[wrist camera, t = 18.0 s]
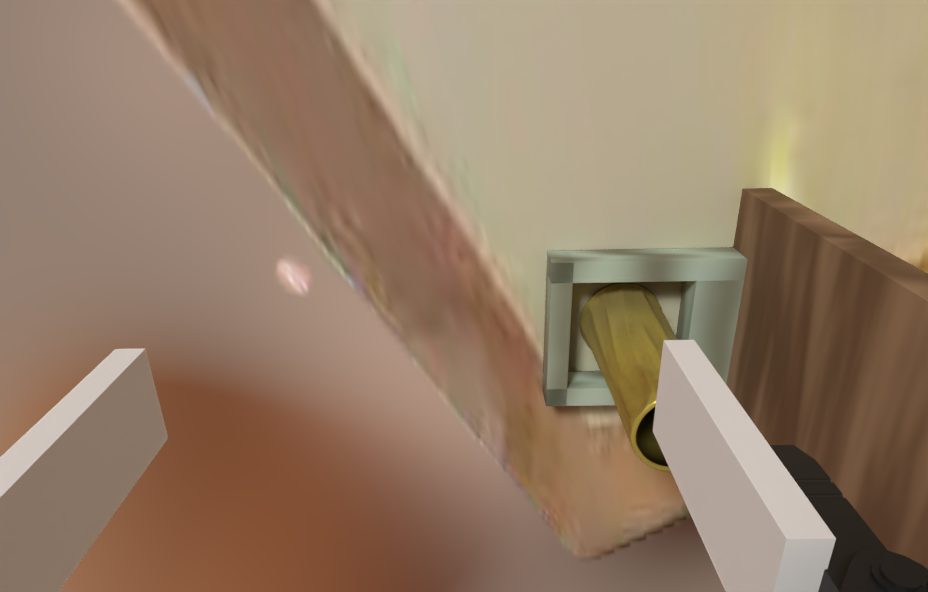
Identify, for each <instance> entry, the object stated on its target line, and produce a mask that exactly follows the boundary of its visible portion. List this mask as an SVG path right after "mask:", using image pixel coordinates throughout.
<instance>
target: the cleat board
mask: <svg viewBox="0 0 928 592" xmlns="http://www.w3.org/2000/svg"><path fill="white" fill-rule="evenodd" d="M666 281H683V288H682V295H681V303H680V311H679V318H678V326H677V334H676V338H677V339H678V340H695V342H696V343H697V345H698V346H699V347H700V349H701V350H702V352H703V353H704V354H705V356H706V357H707V359H708V360H709V361H710V363H711V364H712V366H713V367H714V368H715V370H716V371H717V373H718V374H719V375H720V377H721V378H722V380H723V381H724V382H725V384H726V385H727V387H728V388H729V389H730V391H731V392H732V394H733V395H734V396H735V398H736V399H737V401H738V402H739V403H740V405H741V406H742V408H743V409H744V410H745V412H746V413H747V415H748V416H749V417H750V419H751V420H752V422H753V423H754V424H755V426H756V427H757V429H758V430H759V431H760V433H761V434H762V436H763V437H764V438H765V440H766V441H767V443H768V444H769V445H795V446H796V447H798V448H799V449H800V450H802V451H803V452H805V453H806V454H808V455H809V456H810V457H812V458H813V459H815V460H816V461H817V462H818V463H819V465H820V466H821V467H822V468H823V470H824V471H825V472H826V473H827V475H828V476H829V477H830V479H831V482H834V484H835V485H836V486H837V487H838V489H839V490H840V491H841V492H842V494H843V498H846V499H847V500H848V501H849V502H850V504H851V505H852V506H853V507H854V509H855V510H856V511H857V512H858V514H859V515H860V516H861V517H862V519H863V520H864V521H865V523H866V524H867V525H868V526H869V528H870V529H871V530H872V531H873V533H874V534H875V535H876V536H877V538H878V539H879V540H880V541H881V543H882V544H883V545H884V546H885V548H886V549H887V550H888V551H891V552H894V553H897V554H900V555H904V556H906V557H908V558H910V559H912V560H914V561H916V562H917V563H919V564H921V565H923V566H924V567H926V568H927V569H928V274H927V273H926V272H924V271H922V270H920V269H918V268H916V267H915V266H913V265H911V264H909V263H907V262H905V261H904V260H902V259H900V258H898V257H896V256H895V255H893V254H891V253H889V252H887V251H885V250H884V249H882V248H880V247H878V246H876V245H875V244H873V243H871V242H869V241H867V240H865V239H864V238H862V237H860V236H858V235H856V234H854V233H853V232H851V231H849V230H847V229H845V228H844V227H842V226H840V225H838V224H836V223H834V222H833V221H831V220H829V219H827V218H825V217H824V216H822V215H820V214H818V213H816V212H814V211H813V210H811V209H809V208H807V207H805V206H803V205H802V204H800V203H798V202H796V201H794V200H793V199H791V198H789V197H787V196H785V195H783V194H782V193H780V192H778V191H776V190H774V189H773V188H758V189H743V190H742V197H741V203H740V209H739V215H738V222H737V228H736V234H735V240H734V246H733V247H729V248H672V249H616V250H559V251H547V275H546V303H545V331H544V360H543V388H542V389H543V393H544V398H545V403H546V406H595V405H615V403H614V400H613V398H612V395H611V393H610V390H609V388H608V386H607V383H606V381H605V379H604V376H603V374H602V372H601V371H571V372H568V362H569V344H570V325H571V307H572V288H573V283H608V282H666Z"/></svg>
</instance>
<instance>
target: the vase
mask: <svg viewBox="0 0 928 592" xmlns="http://www.w3.org/2000/svg"><path fill="white" fill-rule="evenodd" d="M580 330H581V334H582V336H583V339H584V340H585V342H586V344H587V345H588V346H589V347H590V349H591V350H592V352H593V354H594V356H595V359H596V361H597V363H598V366H599V368H600V370H601V372H602V374H603V376H604V379H605V381H606V383H607V386H608V388H609V390H610V393H611V395H612V398H613V400H614V403H615V405H616V408H617V410H618V413H619V415H620V418H621V420H622V423H623V425H624V428H625V430H626V433H627V436H628V438H629V441H630V443H631V446H632V448H633V450H634V452H635V454H636V455H637V457H638V458H639V459H640V460H642V461H643V462H644V463H646V464H647V465H649V466H650V467H652V468H654V469H657V470H661V471H667V472H671V470H670V468H669V466H668V464H667V462H666V459H665V457H664V455H663V453H662V451H661V448H660V446H659V444H658V442H657V440H656V437H655V435H654V433H653V423H654V415H655V407H656V398H657V390H658V382H659V374H660V365H661V357H662V349H663V341H664V340H678V339H677V338H676V336H675V335H674V333H673V331H672V329H671V327H670V325H669V323H668V321H667V319H666V318H665V316H664V314H663V312H662V309H661V307H660V304H659V302H658V300H657V299H656V297H655V296H654V295H653V294H652V293H650V292H649V291H648V290H646V289H645V288H643V287H641V286H638V285H635V284H629V283H621V284H615V285H611V286H608V287H606V288H604V289H602V290H600V291H599V292H597V293H596V294H595V295H594V296H593V297H592V298H591V299H590V300H589V301H588V303H587V304H586V305H585V307H584V309H583V311H582V314H581V318H580Z"/></svg>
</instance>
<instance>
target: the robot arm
mask: <svg viewBox="0 0 928 592" xmlns="http://www.w3.org/2000/svg"><path fill="white" fill-rule="evenodd" d="M653 433H654V435H655V437H656V440H657V442H658V444H659V446H660V448H661V451H662V453H663V455H664V457H665V459H666V462H667V464H668V466H669V468H670V470H671V473H672V475H673V477H674V479H675V481H676V484H677V486H678V488H679V490H680V492H681V495H682V497H683V499H684V501H685V503H686V506H687V508H688V510H689V512H690V514H691V517H692V519H693V521H694V523H695V525H696V528H697V530H698V532H699V534H700V536H701V539H702V541H703V543H704V545H705V547H706V550H707V552H708V554H709V556H710V558H711V561H712V563H713V565H714V567H715V569H716V571H717V574H718V576H719V578H720V580H721V583H722V584H723V587H724V589H725V591H726V592H928V569H927V568H926V567H924V566H923V565H921V564H919V563H917V562H916V561H914V560H912V559H910V558H908V557H906V556H904V555H900V554H897V553H894V552H891V551H888V550H887V549H886V548H885V546H884V545H883V544H882V543H881V541H880V540H879V539H878V538H877V536H876V535H875V534H874V533H873V531H872V530H871V529H870V528H869V526H868V525H867V524H866V523H865V521H864V520H863V519H862V517H861V516H860V515H859V514H858V512H857V511H856V510H855V509H854V507H853V506H852V505H851V504H850V502H849V501H848V500H847V499H846V498H843V494H842V492H841V491H840V490H839V489H838V487H837V486H836V485H835V484H834V482H831V479H830V477H829V476H828V475H827V473H826V472H825V471H824V470H823V468H822V467H821V466H820V465H819V463H818V462H817V461H816V460H815V459H813V458H812V457H810V456H809V455H808V454H806V453H805V452H803V451H802V450H800V449H799V448H798V447H796V446H795V445H769V444H768V443H767V441H766V440H765V438H764V437H763V436H762V434H761V433H760V431H759V430H758V429H757V427H756V426H755V424H754V423H753V422H752V420H751V419H750V417H749V416H748V415H747V413H746V412H745V410H744V409H743V408H742V406H741V405H740V403H739V402H738V401H737V399H736V398H735V396H734V395H733V394H732V392H731V391H730V389H729V388H728V387H727V385H726V384H725V382H724V381H723V380H722V378H721V377H720V375H719V374H718V373H717V371H716V370H715V368H714V367H713V366H712V364H711V363H710V361H709V360H708V359H707V357H706V356H705V354H704V353H703V352H702V350H701V349H700V347H699V346H698V345H697V343H696V342H695V340H664V341H663V349H662V357H661V365H660V374H659V382H658V390H657V398H656V407H655V415H654V423H653ZM167 439H168V436H167V432H166V428H165V424H164V420H163V416H162V412H161V408H160V404H159V400H158V396H157V393H156V389H155V384H154V381H153V377H152V373H151V369H150V365H149V361H148V357H147V353H146V349H115V350H114V351H113V352H112V353H111V354H110V355H109V356H108V357H107V358H105V359H104V360H103V361H102V362H101V363H100V364H99V365H98V366H97V367H96V368H95V369H94V370H93V371H92V372H91V373H90V374H89V375H87V376H86V377H85V378H84V379H83V380H82V381H81V382H80V383H79V384H78V385H77V386H76V387H75V388H74V389H72V391H70V392H69V393H68V394H67V395H66V396H65V397H64V398H63V399H62V400H61V401H60V402H59V403H58V404H57V405H55V406H54V407H53V408H52V409H51V410H50V411H49V412H48V413H47V414H46V415H45V416H44V417H43V418H42V419H41V420H39V421H38V422H37V423H36V424H35V425H34V426H33V427H32V428H31V429H30V430H29V431H28V432H27V433H26V434H25V435H24V436H23V437H21V438H20V439H19V440H18V441H17V442H16V443H15V444H14V445H13V446H12V447H11V448H10V449H9V450H8V451H6V453H4V454H3V455H2V456H1V457H0V592H59V591H60V589H61V588H62V586H63V585H64V584H65V582H66V581H67V579H68V578H69V576H70V575H71V574H72V572H73V571H74V569H75V568H76V567H77V565H78V564H79V563H80V561H81V560H82V558H83V557H84V556H85V554H86V553H87V551H88V550H89V548H90V547H91V546H92V544H93V543H94V541H95V540H96V538H97V537H98V536H99V534H100V533H101V532H102V530H103V529H104V527H105V526H106V525H107V523H108V522H109V520H110V519H111V517H112V516H113V515H114V513H115V512H116V511H117V509H118V508H119V506H120V505H121V504H122V502H123V501H124V499H125V498H126V496H127V495H128V494H129V492H130V491H131V489H132V488H133V487H134V485H135V484H136V482H137V481H138V480H139V478H140V477H141V475H142V474H143V473H144V471H145V470H146V468H147V467H148V466H149V464H150V463H151V461H152V460H153V458H154V457H155V456H156V454H157V453H158V452H159V450H160V449H161V447H162V446H163V445H164V443H165V442H166V440H167Z"/></svg>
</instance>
